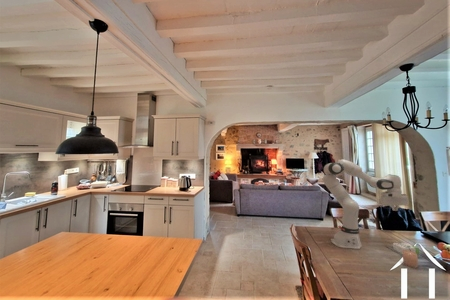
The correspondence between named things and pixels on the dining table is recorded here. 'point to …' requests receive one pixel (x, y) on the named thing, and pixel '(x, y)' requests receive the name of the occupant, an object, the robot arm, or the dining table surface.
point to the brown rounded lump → (410, 258)
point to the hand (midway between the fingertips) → (394, 210)
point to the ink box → (405, 247)
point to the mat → (402, 254)
